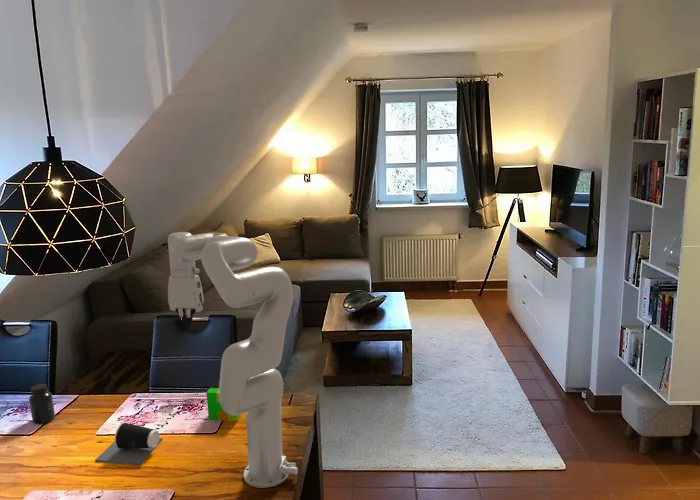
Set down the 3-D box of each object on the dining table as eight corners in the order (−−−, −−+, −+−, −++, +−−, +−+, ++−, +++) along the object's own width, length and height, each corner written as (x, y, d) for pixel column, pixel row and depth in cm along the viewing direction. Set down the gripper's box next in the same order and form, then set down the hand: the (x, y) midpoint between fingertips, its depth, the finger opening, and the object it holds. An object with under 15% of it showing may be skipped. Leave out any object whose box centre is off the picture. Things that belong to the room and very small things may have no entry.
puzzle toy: (246, 406, 202) (244, 380, 200) (237, 421, 192) (236, 393, 190) (218, 405, 203) (216, 379, 201) (208, 420, 193) (206, 392, 191)
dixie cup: (162, 422, 178) (130, 419, 180) (148, 428, 170) (115, 425, 172) (161, 448, 177) (128, 445, 180) (147, 456, 170) (113, 452, 172)
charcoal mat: (162, 439, 182) (162, 438, 182) (139, 465, 168) (139, 463, 168) (121, 436, 184) (121, 434, 184) (95, 461, 171) (95, 459, 171)
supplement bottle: (48, 412, 200) (44, 380, 197) (59, 418, 196) (54, 385, 193) (28, 421, 195) (23, 388, 192) (38, 427, 191) (33, 393, 188)
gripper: (210, 269, 182) (214, 325, 186) (166, 268, 185) (171, 323, 189) (200, 276, 175) (205, 333, 179) (154, 274, 178) (160, 331, 182)
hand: (187, 328), depth 184 cm, fingers closed
